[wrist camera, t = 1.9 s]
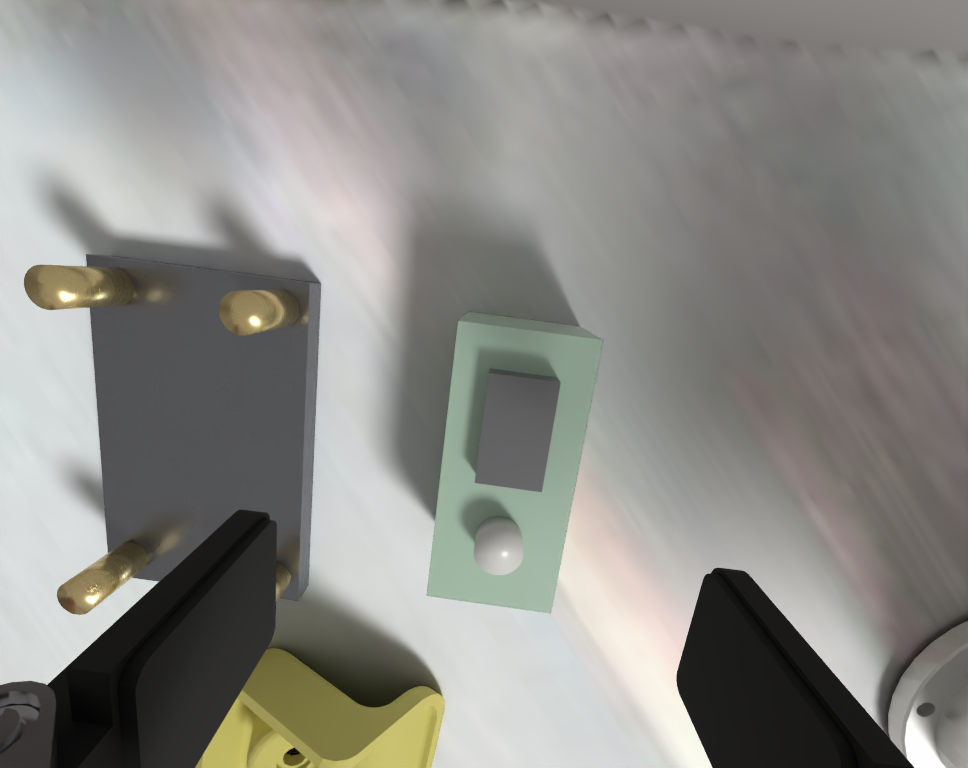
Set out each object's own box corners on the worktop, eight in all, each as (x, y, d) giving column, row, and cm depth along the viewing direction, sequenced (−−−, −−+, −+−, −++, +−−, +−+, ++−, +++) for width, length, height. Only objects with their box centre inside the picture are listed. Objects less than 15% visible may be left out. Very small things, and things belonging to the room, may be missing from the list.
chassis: (320, 283, 20) (273, 284, 16) (308, 584, 23) (266, 649, 19) (110, 255, 20) (9, 249, 16) (128, 560, 24) (50, 618, 19)
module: (578, 325, 20) (609, 343, 14) (541, 542, 23) (553, 632, 17) (469, 311, 20) (455, 323, 14) (443, 528, 23) (421, 614, 17)
